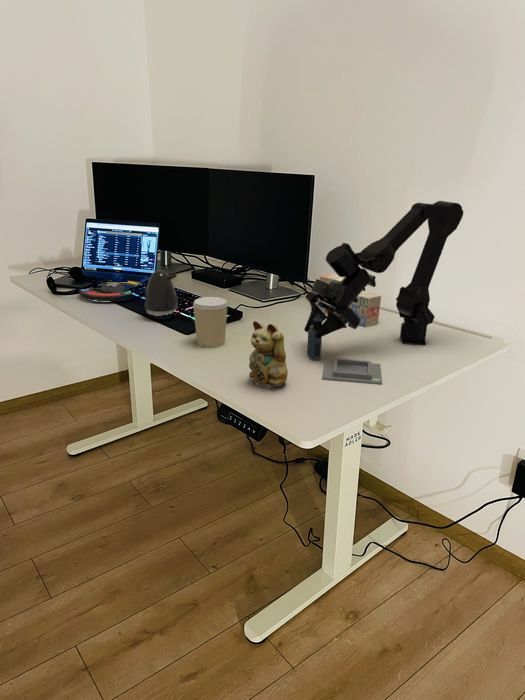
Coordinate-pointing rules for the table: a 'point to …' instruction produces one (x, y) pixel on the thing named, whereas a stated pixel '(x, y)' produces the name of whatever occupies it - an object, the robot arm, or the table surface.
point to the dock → (352, 371)
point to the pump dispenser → (160, 294)
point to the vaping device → (314, 339)
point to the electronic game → (108, 291)
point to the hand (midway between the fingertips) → (310, 334)
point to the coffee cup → (210, 321)
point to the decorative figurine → (268, 356)
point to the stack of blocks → (360, 303)
